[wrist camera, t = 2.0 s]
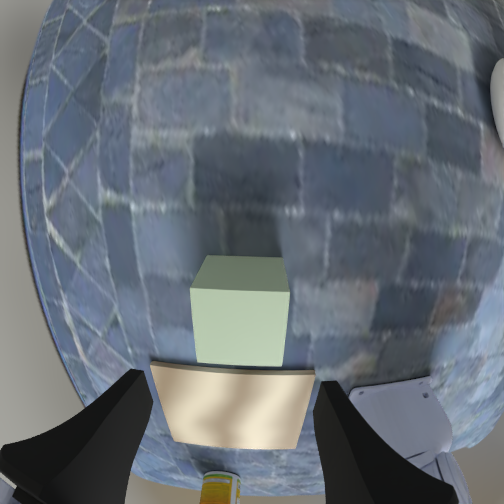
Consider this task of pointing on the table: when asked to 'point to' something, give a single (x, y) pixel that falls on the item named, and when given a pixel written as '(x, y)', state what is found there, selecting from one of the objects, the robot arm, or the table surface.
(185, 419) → the wooden board
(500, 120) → the flower in vase
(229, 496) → the supplement bottle
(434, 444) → the robot arm
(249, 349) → the sage cube
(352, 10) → the table surface
